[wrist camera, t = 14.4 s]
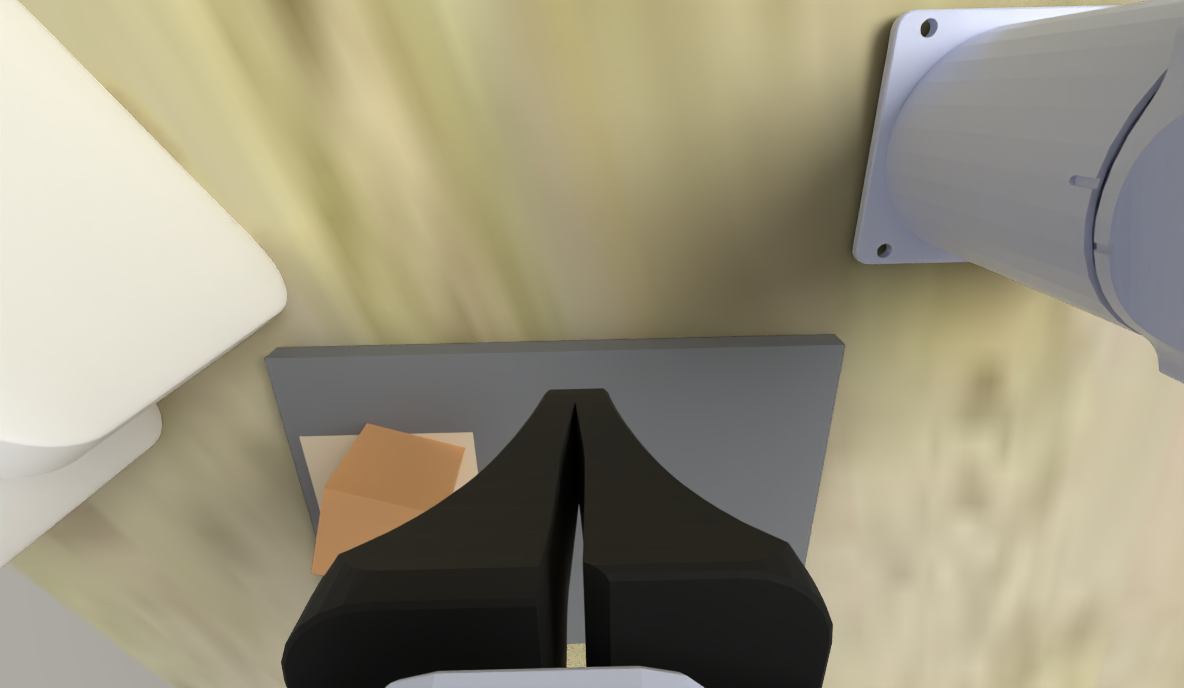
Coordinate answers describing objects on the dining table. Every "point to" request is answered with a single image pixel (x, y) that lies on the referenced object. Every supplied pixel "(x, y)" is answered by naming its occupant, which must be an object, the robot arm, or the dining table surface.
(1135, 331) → the robot arm
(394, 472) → the plug block
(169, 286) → the cable organizer
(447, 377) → the grey rectangular board
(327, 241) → the dining table surface
